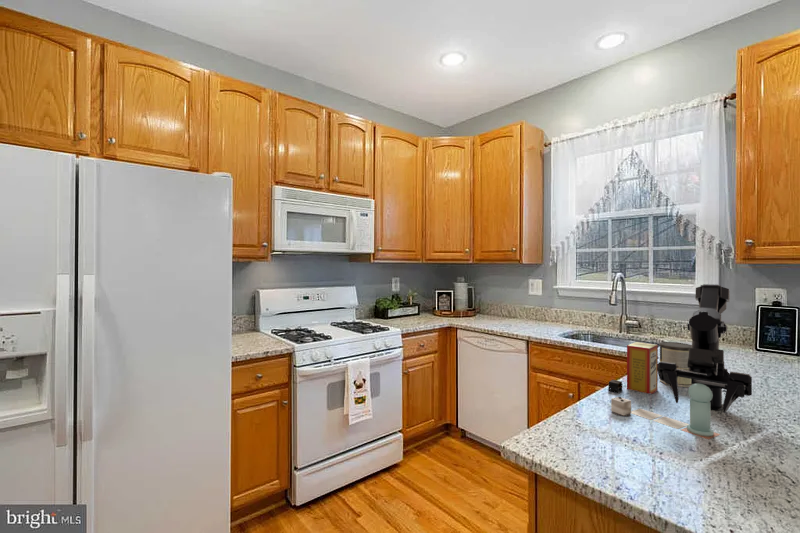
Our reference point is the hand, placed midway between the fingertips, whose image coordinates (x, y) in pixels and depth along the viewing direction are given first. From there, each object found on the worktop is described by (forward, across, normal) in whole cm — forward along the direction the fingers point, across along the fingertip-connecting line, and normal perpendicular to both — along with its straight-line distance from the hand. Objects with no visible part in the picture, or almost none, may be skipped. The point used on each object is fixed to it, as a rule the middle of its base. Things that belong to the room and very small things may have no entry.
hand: (699, 406), depth 92 cm
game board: (+1, -6, +9) cm, 11 cm away
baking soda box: (-17, -18, +28) cm, 37 cm away
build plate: (-10, -24, +22) cm, 34 cm away
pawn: (+4, 0, +6) cm, 7 cm away
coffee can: (-31, -11, +42) cm, 53 cm away
